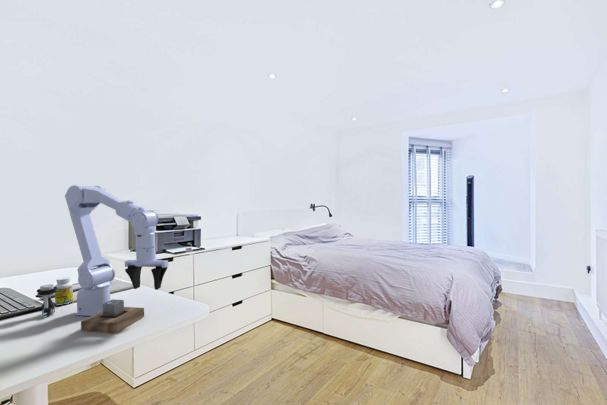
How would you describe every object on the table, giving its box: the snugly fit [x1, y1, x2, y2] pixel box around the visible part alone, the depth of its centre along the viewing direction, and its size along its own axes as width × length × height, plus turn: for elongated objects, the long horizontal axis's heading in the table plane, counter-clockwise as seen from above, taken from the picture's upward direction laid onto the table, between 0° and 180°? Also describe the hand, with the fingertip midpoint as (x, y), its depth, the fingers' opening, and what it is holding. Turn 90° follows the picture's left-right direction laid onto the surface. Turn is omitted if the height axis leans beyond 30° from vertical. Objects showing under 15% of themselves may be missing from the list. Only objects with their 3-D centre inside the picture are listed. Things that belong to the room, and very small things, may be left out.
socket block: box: [80, 306, 145, 334], centre depth 97 cm, size 12×12×3 cm
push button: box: [36, 283, 57, 319], centre depth 105 cm, size 7×5×10 cm
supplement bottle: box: [54, 276, 74, 305], centre depth 116 cm, size 5×5×10 cm
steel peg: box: [103, 299, 125, 318], centre depth 97 cm, size 4×4×7 cm
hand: (147, 288), depth 102 cm, fingers open, 7 cm apart
